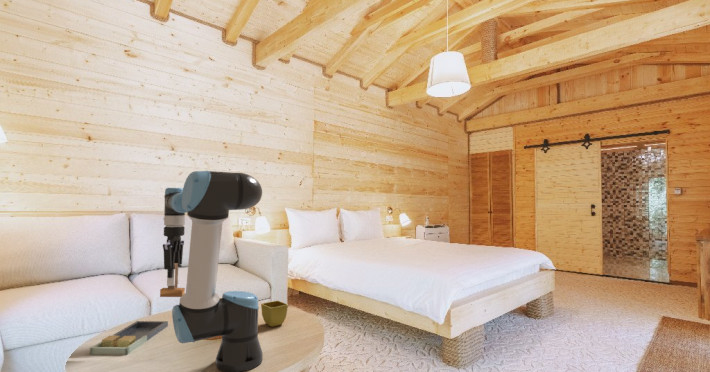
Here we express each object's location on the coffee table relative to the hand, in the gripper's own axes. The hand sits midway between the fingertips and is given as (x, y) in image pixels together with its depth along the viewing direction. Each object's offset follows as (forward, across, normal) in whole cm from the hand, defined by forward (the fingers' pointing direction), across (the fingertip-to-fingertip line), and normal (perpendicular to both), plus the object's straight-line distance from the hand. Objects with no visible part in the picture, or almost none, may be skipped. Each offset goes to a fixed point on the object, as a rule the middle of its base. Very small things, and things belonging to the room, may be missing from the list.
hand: (172, 284), depth 149 cm
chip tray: (+20, +14, -12) cm, 27 cm away
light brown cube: (+20, +14, -9) cm, 26 cm away
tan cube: (+20, +14, -15) cm, 29 cm away
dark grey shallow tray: (+20, 0, -12) cm, 24 cm away
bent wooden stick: (+5, 0, 0) cm, 5 cm away
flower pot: (+21, -14, +38) cm, 45 cm away
